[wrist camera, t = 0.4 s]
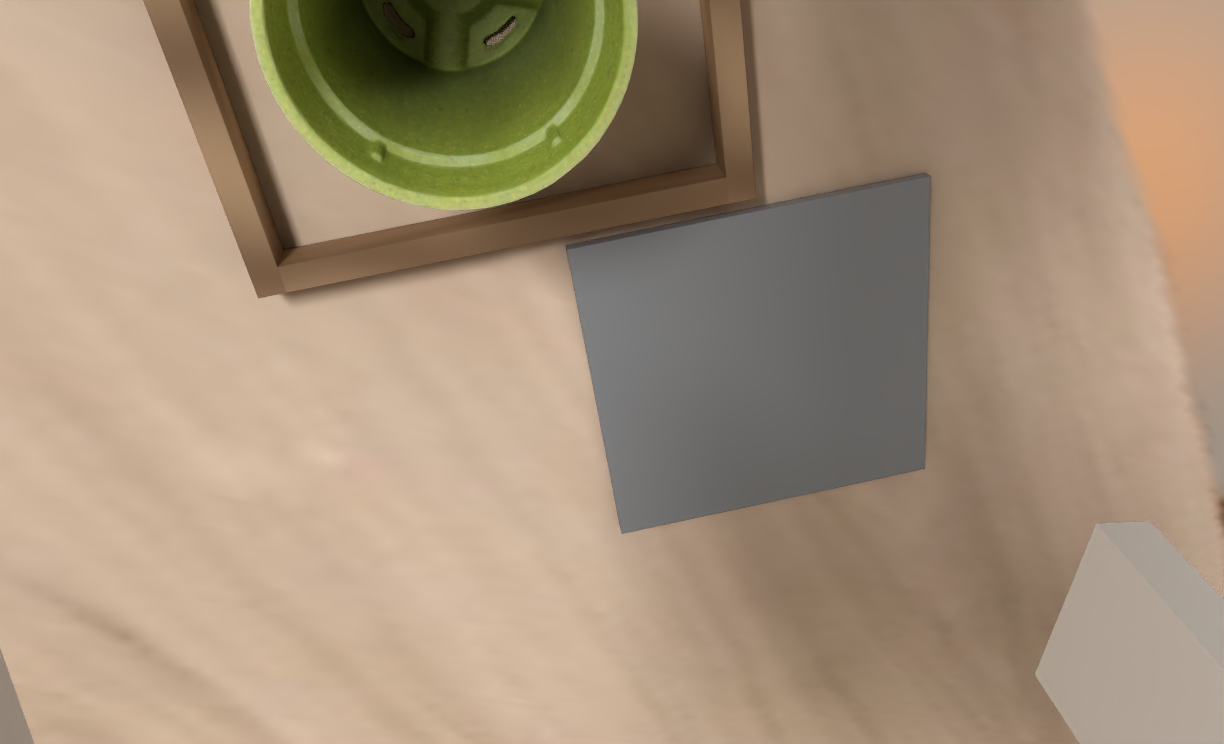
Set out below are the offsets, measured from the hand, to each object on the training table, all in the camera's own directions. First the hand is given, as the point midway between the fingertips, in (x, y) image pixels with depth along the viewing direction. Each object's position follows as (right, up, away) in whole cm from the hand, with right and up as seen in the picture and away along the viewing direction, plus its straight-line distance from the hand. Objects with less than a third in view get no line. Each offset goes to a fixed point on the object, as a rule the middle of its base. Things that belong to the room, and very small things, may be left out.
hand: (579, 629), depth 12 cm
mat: (+7, +3, +29) cm, 30 cm away
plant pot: (-5, +16, +20) cm, 26 cm away
